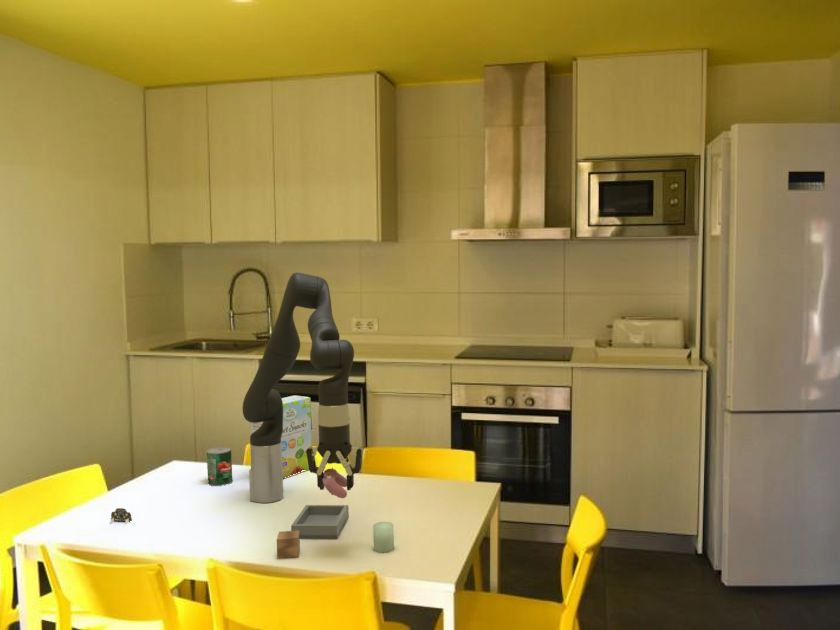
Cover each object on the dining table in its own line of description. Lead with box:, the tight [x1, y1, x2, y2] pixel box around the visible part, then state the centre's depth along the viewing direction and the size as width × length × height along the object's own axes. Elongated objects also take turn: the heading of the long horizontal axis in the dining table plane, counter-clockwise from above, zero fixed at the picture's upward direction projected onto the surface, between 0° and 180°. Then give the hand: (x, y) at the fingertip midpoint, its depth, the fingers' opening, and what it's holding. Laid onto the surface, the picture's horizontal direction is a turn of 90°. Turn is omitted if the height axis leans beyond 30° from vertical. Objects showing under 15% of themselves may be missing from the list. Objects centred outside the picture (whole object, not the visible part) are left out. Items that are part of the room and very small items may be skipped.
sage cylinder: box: [372, 521, 395, 554], centre depth 179 cm, size 5×5×6 cm
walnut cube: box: [276, 530, 301, 560], centre depth 177 cm, size 5×5×5 cm
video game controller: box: [323, 467, 348, 499], centre depth 177 cm, size 10×5×7 cm, turn 3°
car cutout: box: [109, 507, 133, 525], centre depth 202 cm, size 15×7×4 cm, turn 80°
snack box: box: [249, 395, 312, 479], centre depth 244 cm, size 22×9×26 cm, turn 147°
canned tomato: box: [206, 446, 233, 487], centre depth 238 cm, size 8×8×11 cm
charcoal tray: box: [290, 504, 350, 540], centre depth 194 cm, size 12×16×4 cm
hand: (335, 488), depth 177 cm, fingers closed on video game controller, 6 cm apart
